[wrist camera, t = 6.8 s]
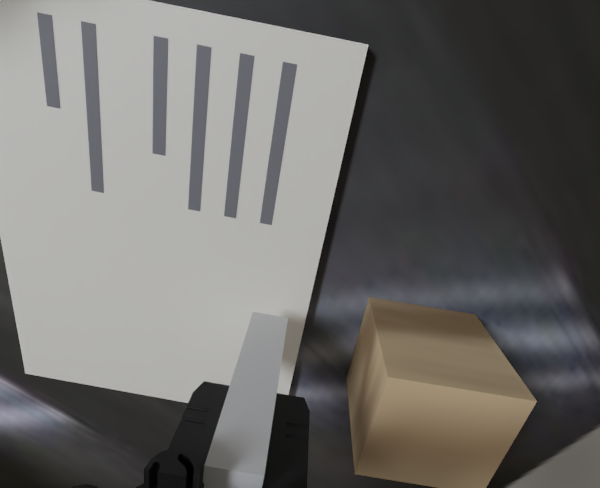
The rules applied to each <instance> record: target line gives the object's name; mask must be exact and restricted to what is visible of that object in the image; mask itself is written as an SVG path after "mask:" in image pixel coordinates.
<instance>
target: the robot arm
mask: <svg viewBox="0 0 600 488" xmlns="http://www.w3.org/2000/svg"><path fill="white" fill-rule="evenodd" d="M287 322H288V318H285V317H280V316H274V315H269V314H263V313H257V312H253V314H252V317H251V320H250V323H249V326H248V329H247V333H246V336H245V339H244V342H243V345H242V348H241V351H240V355H239V358H238V361H237V364H236V367H235V370H234V374H233V377H232V380H231V383H230V386H228V385H223V384H217V383H211V382H206V381H204V382H203V383H202V384H201V385H200V386H199V387H198V388H197V389H196V390H195V391H194V392H193V393H192V396H191V398H190V400H189V403H188V405H187V408H186V410H185V412H184V414H183V416H182V420H181V421H180V423H179V426H178V428H177V430H176V433H175V435H174V437H173V440H172V442H171V444H170V446H169V449H168V450H165V451H163V452H160V453H159V454H158V455H156V456H155V457H154V458H152V459H151V460H150V462H149V463H148V464H147V466H146V467H145V469H144V484H142V485H140V486H138V487H136V488H307V467H308V438H309V413H310V411H309V409H308V406H307V404H306V401H305V399H304V398H302V397H296V396H290V395H285V394H279V393H277V388H278V382H279V375H280V368H281V362H282V355H283V348H284V342H285V335H286V328H287ZM72 488H98V487H97V486H92V485H88V484H85V485H79V486H74V487H72Z"/></svg>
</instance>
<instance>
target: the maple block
mask: <svg viewBox="0 0 600 488" xmlns="http://www.w3.org/2000/svg"><path fill="white" fill-rule="evenodd" d="M346 379H347V391H348V402H349V414H350V425H351V437H352V448H353V459H354V471H355V474H357V475H363V476H369V477H375V478H382V479H388V480H394V481H400V482H406V483H412V484H419V485H425V486H431V487H437V488H486V487H487V485H488V484H489V482H490V480H491V478H492V477H493V475H494V473H495V472H496V470H497V468H498V467H499V465H500V463H501V462H502V460H503V458H504V457H505V455H506V453H507V451H508V450H509V448H510V446H511V445H512V443H513V441H514V440H515V438H516V436H517V435H518V433H519V431H520V429H521V428H522V426H523V424H524V423H525V421H526V419H527V418H528V416H529V414H530V413H531V411H532V409H533V408H534V406H535V404H536V402H537V401H536V399H535V398H534V396H533V395H532V394H531V392H530V391H529V389H528V388H527V387H526V385H525V384H524V382H523V381H522V379H521V378H520V377H519V375H518V374H517V372H516V371H515V370H514V368H513V367H512V365H511V364H510V363H509V361H508V360H507V358H506V357H505V356H504V354H503V353H502V351H501V350H500V348H499V347H498V346H497V344H496V343H495V341H494V340H493V339H492V337H491V336H490V334H489V333H488V332H487V330H486V329H485V327H484V326H483V324H482V323H481V322H480V320H479V319H478V317H477V316H476V315H474V314H468V313H462V312H456V311H450V310H444V309H438V308H432V307H426V306H420V305H414V304H408V303H402V302H396V301H390V300H384V299H378V298H372V297H369V299H368V302H367V306H366V310H365V313H364V317H363V320H362V324H361V328H360V331H359V335H358V338H357V342H356V346H355V349H354V353H353V357H352V360H351V364H350V367H349V371H348V375H347V378H346Z"/></svg>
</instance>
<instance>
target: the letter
mask: <svg viewBox="0 0 600 488" xmlns="http://www.w3.org/2000/svg"><path fill="white" fill-rule="evenodd" d="M367 49H368V44H363V43H358V42H353V41H348V40H343V39H338V38H333V37H328V36H323V35H318V34H313V33H308V32H303V31H298V30H293V29H289V28H284V27H279V26H274V25H269V24H264V23H259V22H254V21H249V20H244V19H239V18H234V17H229V16H224V15H219V14H214V13H210V12H205V11H200V10H195V9H190V8H185V7H180V6H175V5H170V4H165V3H160V2H155V1H150V0H0V238H1V243H2V249H3V254H4V260H5V265H6V270H7V276H8V281H9V287H10V292H11V298H12V303H13V309H14V314H15V320H16V325H17V331H18V336H19V342H20V347H21V353H22V358H23V364H24V369H25V374H31V375H36V376H42V377H47V378H53V379H58V380H64V381H69V382H75V383H80V384H86V385H91V386H97V387H102V388H108V389H113V390H119V391H125V392H130V393H136V394H141V395H147V396H152V397H158V398H163V399H169V400H174V401H180V402H185V403H189V400H190V398H191V396H192V393H193V392H194V391H195V390H196V389H197V388H198V387H199V386H200V385H201V384H202V383H203V382H204V381H206V382H211V383H217V384H223V385H228V386H230V383H231V380H232V377H233V374H234V370H235V367H236V364H237V361H238V358H239V355H240V351H241V348H242V345H243V342H244V339H245V336H246V333H247V329H248V326H249V323H250V320H251V317H252V314H253V312H257V313H263V314H269V315H274V316H280V317H285V318H288V322H287V328H286V335H285V342H284V348H283V355H282V362H281V368H280V375H279V382H278V388H277V393H279V394H285V395H289V391H290V386H291V382H292V378H293V373H294V369H295V364H296V360H297V356H298V351H299V347H300V343H301V338H302V334H303V329H304V325H305V321H306V316H307V312H308V308H309V303H310V299H311V294H312V290H313V286H314V281H315V277H316V273H317V268H318V264H319V259H320V255H321V251H322V246H323V242H324V238H325V233H326V229H327V224H328V220H329V216H330V211H331V207H332V203H333V198H334V194H335V189H336V185H337V181H338V176H339V172H340V168H341V163H342V159H343V154H344V150H345V146H346V141H347V137H348V133H349V128H350V124H351V119H352V115H353V111H354V106H355V102H356V98H357V93H358V89H359V84H360V80H361V76H362V71H363V67H364V63H365V58H366V54H367Z"/></svg>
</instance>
